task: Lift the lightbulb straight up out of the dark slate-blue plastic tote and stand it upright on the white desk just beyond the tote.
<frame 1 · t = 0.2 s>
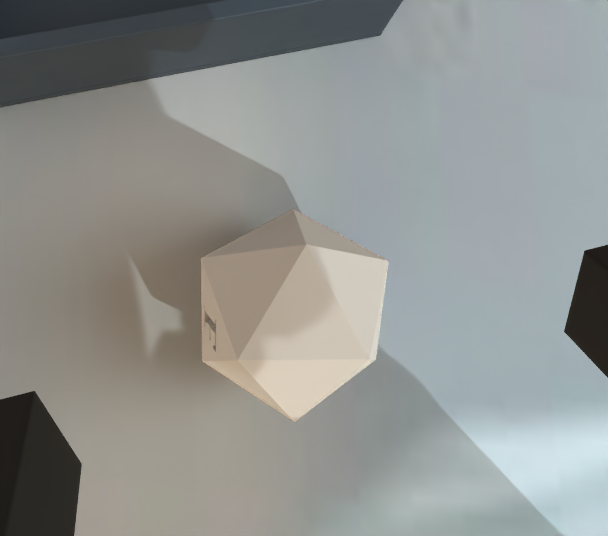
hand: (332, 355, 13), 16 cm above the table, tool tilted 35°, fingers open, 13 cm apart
die: (285, 304, 29), on the table
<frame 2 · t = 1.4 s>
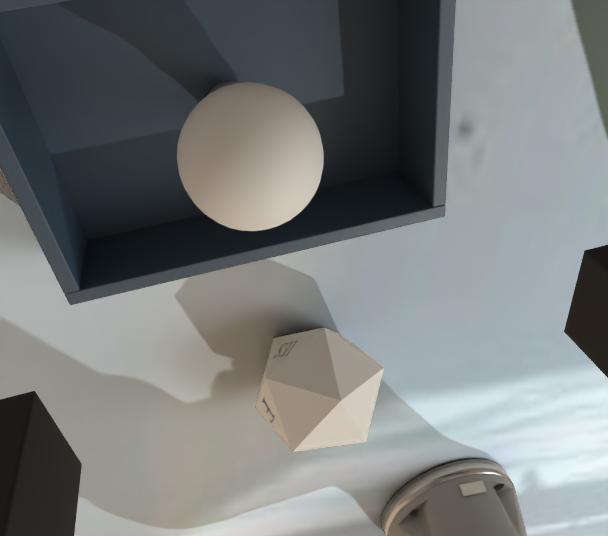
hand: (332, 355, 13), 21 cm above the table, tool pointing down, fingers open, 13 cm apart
die: (304, 348, 42), on the table
tote: (226, 97, 29), on the table
lightbulb: (227, 98, 29), resting on tote
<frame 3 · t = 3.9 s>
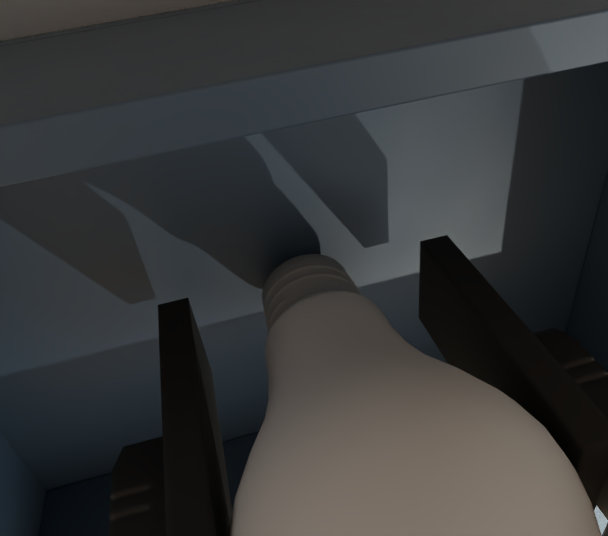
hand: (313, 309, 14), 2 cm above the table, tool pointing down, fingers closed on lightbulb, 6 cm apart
tote: (295, 264, 16), on the table
lightbulb: (297, 270, 16), resting on tote, touching gripper
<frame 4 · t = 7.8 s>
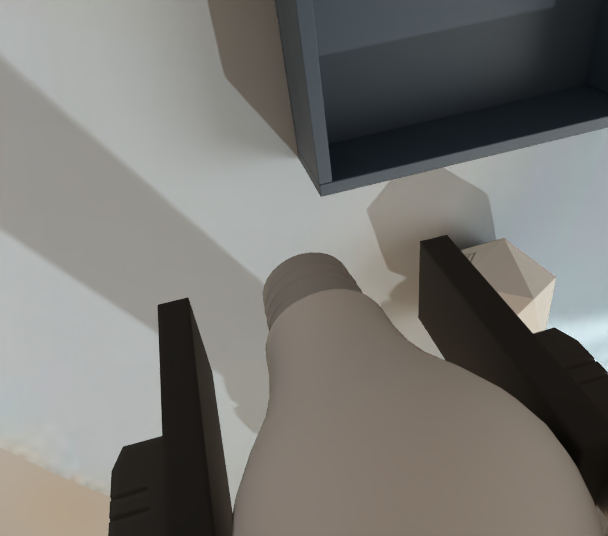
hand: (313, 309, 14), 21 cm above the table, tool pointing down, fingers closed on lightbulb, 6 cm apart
die: (464, 268, 44), on the table
tote: (452, 7, 32), on the table
lightbulb: (298, 269, 16), point 19 cm above the table, touching gripper
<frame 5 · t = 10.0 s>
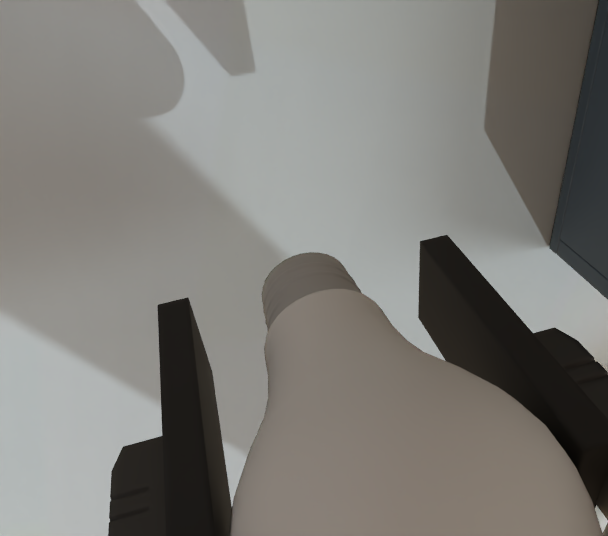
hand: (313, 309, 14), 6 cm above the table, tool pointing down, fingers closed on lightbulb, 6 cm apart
lightbulb: (297, 269, 16), point 4 cm above the table, touching gripper
when the fingers open (2 cm above the table, at t = 11.5 s): lightbulb stays where it is, on the table.
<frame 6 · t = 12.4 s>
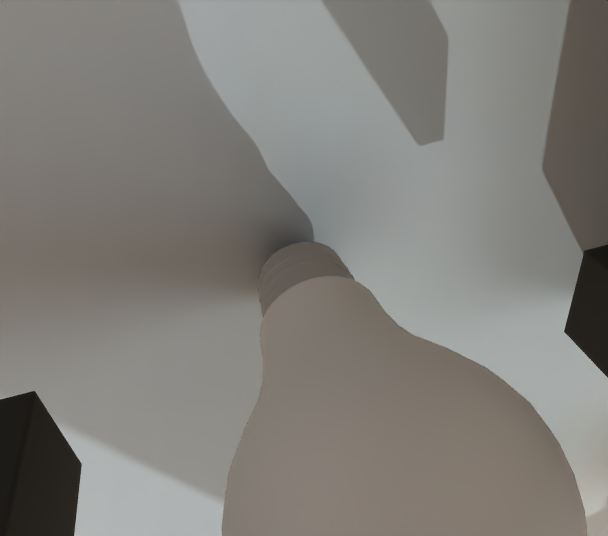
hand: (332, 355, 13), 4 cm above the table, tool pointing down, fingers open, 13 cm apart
lightbulb: (293, 259, 16), on the table
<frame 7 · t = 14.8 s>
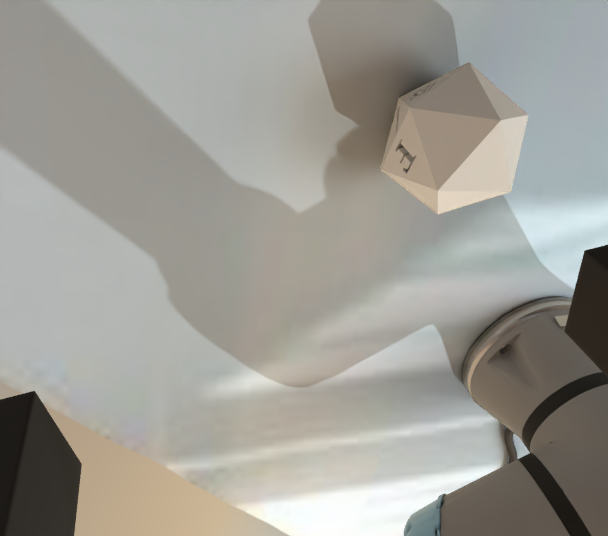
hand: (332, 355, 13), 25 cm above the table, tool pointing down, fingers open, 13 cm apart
die: (425, 119, 39), on the table
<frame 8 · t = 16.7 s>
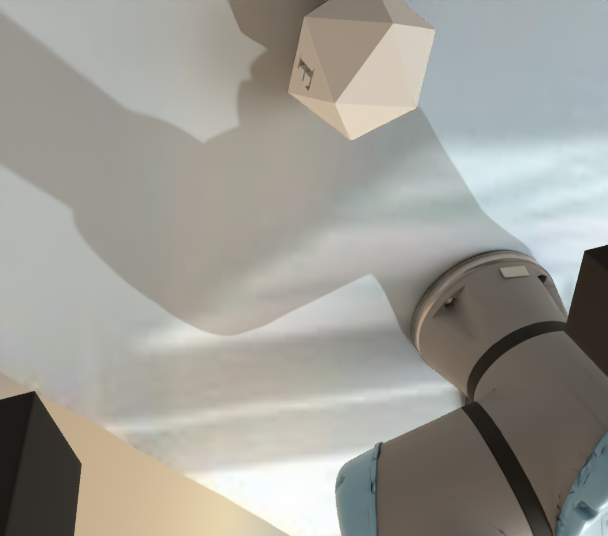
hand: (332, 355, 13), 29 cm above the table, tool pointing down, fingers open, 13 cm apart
die: (340, 46, 37), on the table
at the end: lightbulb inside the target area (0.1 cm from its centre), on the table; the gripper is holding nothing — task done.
